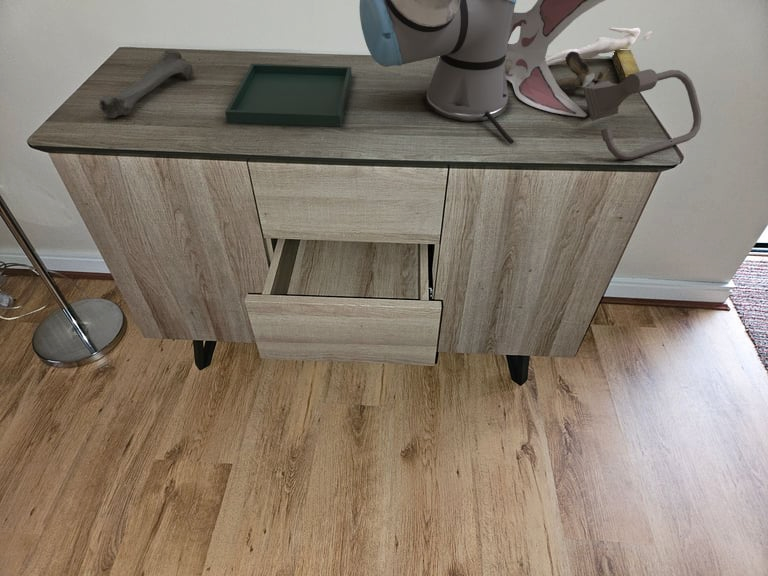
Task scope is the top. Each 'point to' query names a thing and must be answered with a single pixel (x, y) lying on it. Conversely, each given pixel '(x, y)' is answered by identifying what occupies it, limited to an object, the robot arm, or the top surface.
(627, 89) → the toilet paper hanger
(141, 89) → the bone
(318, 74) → the tray
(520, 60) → the mask
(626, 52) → the decorative block
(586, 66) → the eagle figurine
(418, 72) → the top surface
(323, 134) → the top surface
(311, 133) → the top surface
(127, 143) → the top surface
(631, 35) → the figurine
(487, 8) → the robot arm
